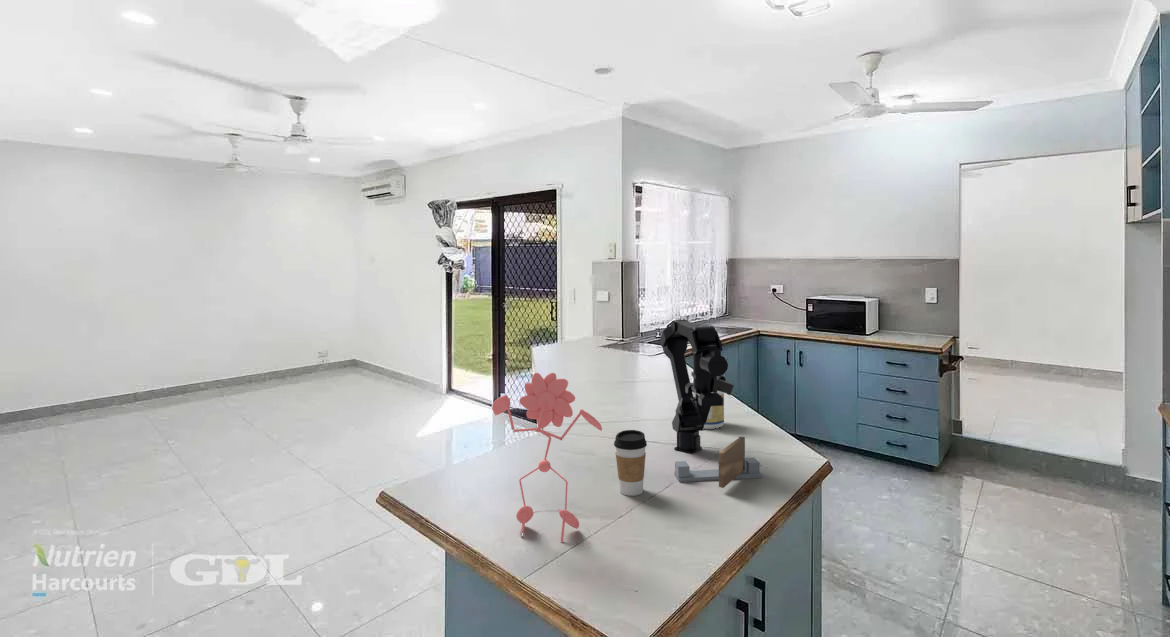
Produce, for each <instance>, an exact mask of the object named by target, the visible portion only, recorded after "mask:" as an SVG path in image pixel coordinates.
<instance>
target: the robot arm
mask: <svg viewBox="0 0 1170 637" xmlns="http://www.w3.org/2000/svg"><path fill="white" fill-rule="evenodd" d="M720 338H721V337H720V336H719V333H718V331H717V329H716V328H715V327H714V326H712V325H707V326H705V325H704V326H702V325H701V326H700V325H698V324H695V323H693V322H690V321H689V320H687V319H674V320H672V321H671V322H670V325H669V326H667V327H666V328H665V329H663V331H662V333H661V335H660V338H659V339H660V340H659V343H660V347H661V348H662V352H663V354H664V355H665V356H666V357H667V358H668V359H669V360H670V361H669V362H670V366H671V370H672V376H673V379H674V384H675V385H674V386H675V388H676V389H675V390H676V394H677V399H678V403H677V405H676V409H675V415H674V417H673V419H672V422H671V425H672V429H673V430H674V431H675V432H676V446H675V447H674V448H673V449H674V450H675V451H680V452H684V453H689V454H693V453H696V452H697V451H699V450H701V449H702V448H703V447H702V445H701V435H700V431H701V432H703V431H704V429H703V428H704V423H706V421H707V417H708V414H709V411H710V408H711V406H723V405H724V406H725V397H724V398H723V397H722V396H721V395H719V394H718V393H717V390H718V391H721V392H724V394H726V395H728V396H731V395H732V393H733V390H734V387H735V384H734V383H732V382H730V381H727V380H726V376H723V375H725V373H727V371H728V368H729V362H728V361H727V359H726V357H725V356H723V355H722V351H723V343H722V341H721V339H720ZM688 344H689V345H690V347H691V348H692V349H691V352H692V371H691V372H690V373H691V377H692V378H693V383H692V382H691V379H690V375H689V372H688V366H687V361H686V357H685V354H686V352H687V349H688ZM692 392H693V393H692ZM711 392H713V393H711Z"/></svg>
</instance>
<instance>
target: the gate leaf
mask: <svg viewBox="0 0 1170 637" xmlns="http://www.w3.org/2000/svg"><path fill="white" fill-rule="evenodd" d="M745 458H746V437H745V436H739V437H738V438H736V439H735V440H734V441H733V442H731V443H730V444H728V445H726V446H725V447H724V448H722V449H721V450H720V451H718V469H719V480H718V488H722V489H724V488H726V486H728V485H729V484H730V483H731V482H732V481H733V480H735V479H734V478H736V477H737V476H738V475H739V474H740V473H741V472H742V471H744V470H745Z"/></svg>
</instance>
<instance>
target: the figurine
mask: <svg viewBox="0 0 1170 637" xmlns="http://www.w3.org/2000/svg"><path fill="white" fill-rule="evenodd" d="M568 386H569V381H568V380H567V379H565V378H557V374H556V373H555V372H549V373H547V375H546V376H545V377H543V376H542V375H541V374H540V373H539V372H534V374H532V378H531V383H530V382H526V383H525V384H524V391H525V393H526V395H524V396H521V397H520V398H519V404H520V405H521V406H522V407H523V408H525V409H527V410H526V414H525V415H526V418H527V419H529V420H536V424H537V427H532V428H531V427H529V428H517V429H515V426H514V421H513V418H512V413H511V409H510V406H511V397H509V396H508V394H505V395H502V396H499V397H498V398H496V399H495V400H494V401H493V403H492V407H491V410H492V412H493V414H494V416H498V415H501V414H503V413H505V412H507V414H508V418H509V422H510V426H511V430H512V432H513V433H517V432H530V431H531V432H532V431H535V432H536V433H541V434H542V435H544V436H545V437H546V438H548V440H547V445H546V449H545V455H544V458H543V459H542V460H540V461H539V462H538V465H537V467H536V468H535V469H533V470H531V471H530V472H528V473H526V474H525V475H524V476H522V477H520V478H519V479H518V481H519V486H520V488H519V489H520V491H521V498H522V502H523V506H521V507H520V508H519V509H518V510H517V511H516V520H517V522H519V523H520V524H521V523H522V524H521V525H522V526H521V532H520V534H521V533H524V534H525V527H526V524H527V523H529V521H530V520H532V518H533V516H534V512H533V510H534V509H533V507H532V506H530V505H526V500H525V496H524V490H523V486H522V480H523V479H525V478H527V477H528V476H530V475H532V474H533V473H534V472H536V471H540V472H541V473H547V472H549V471H550V470H551V471H553V473H555V474H556V475H557V476H558V477H559V478H560V479H562V480H563V481H564V482H565V494H564V495H565V496H564V498H565V499H564V509H559V510H558V513H559V517H560V518H561V520H562V523H561V524H562V525H561V533H560V542H563V541H564V536H565V535H564V534H565V526H566V525H565V524H567V525H569V526H570V527H572V528H574V529H576V530H578V529H577V528H579V527H580V521H579V519H578V518H577V517H576V515H575V514H573V512H571V511H569V510H567V508H568V507H567V505H568V487H569V486H568V483H569V482H568V480H567V479H565V478H564V477H563V476H562V475H561V474H560V473H558V471H557V470H555V469H554V468H553V467H552V466H551V462H550V461H549V460H547V457H548V453H549V449H550V445H551V441H552V437H553V438H554V439H557V440H559V441H563V440H564V438H565V436H566V435H567V434H568V433H569V431H570V430H571V429H572V428H573V426H574V425H575V423H576V422H577V421H578V419H579V418H580V417H583V418H584V420H585V421H586V422H587V423H589V424H590V425H591V426H593V427H594V428H596V429H597V430H599V431H600V432H602V430H603V427H602V424H601V423H600V422H599V420H597V419H596V418H595V417H594V416H593V415H592V414H590V413H589V412H587V411H586V410H584V409H582V408H581V409H579V413H578V414H577V415H576V416H575V417H574V419H573V420H572V422H570V424H569V426H568V427H567V429H566V430H565V431H564V432H563V434H562V435H561V436H558V435H557V434H553V433H552V432H549V431H546V430H545V428H546V427H548V426H549V425H550V423H552V425H553V426H554V427H556V428H560V427H562V426H563V422H564V417H565V418H571V417H572V416H573V414H574V413H573V408H572V407H571V405H570V404H571V403H573V402H575V401H576V396H575V394H573V393H572V391H569V390H567V388H568ZM570 512H571V513H570ZM525 523H526V524H525ZM589 544H590V542H588V543H587V544H586V546H588V545H589Z"/></svg>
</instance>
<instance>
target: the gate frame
mask: <svg viewBox="0 0 1170 637" xmlns="http://www.w3.org/2000/svg"><path fill="white" fill-rule="evenodd" d="M760 464H761V463H760V461H759V460H758V459H756V457H745V470H744V471H742V472H741V473H740V474H739V475H738V476H737V477H736V478H734V479H733V480H740V479H760V478H762V473H761V471H760V470H761V469H760V468H761V466H760ZM674 477H675V478H676V480H677V481H678V482H679V483H684V482H685V483H687V482H704V481H705V480H706V481H708V482H709V481H719V468H718V469H717V468H715V469H699V470H690V465H689V464H688V462H687V461H686V460H682V461H681V460H680V461H674Z"/></svg>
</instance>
